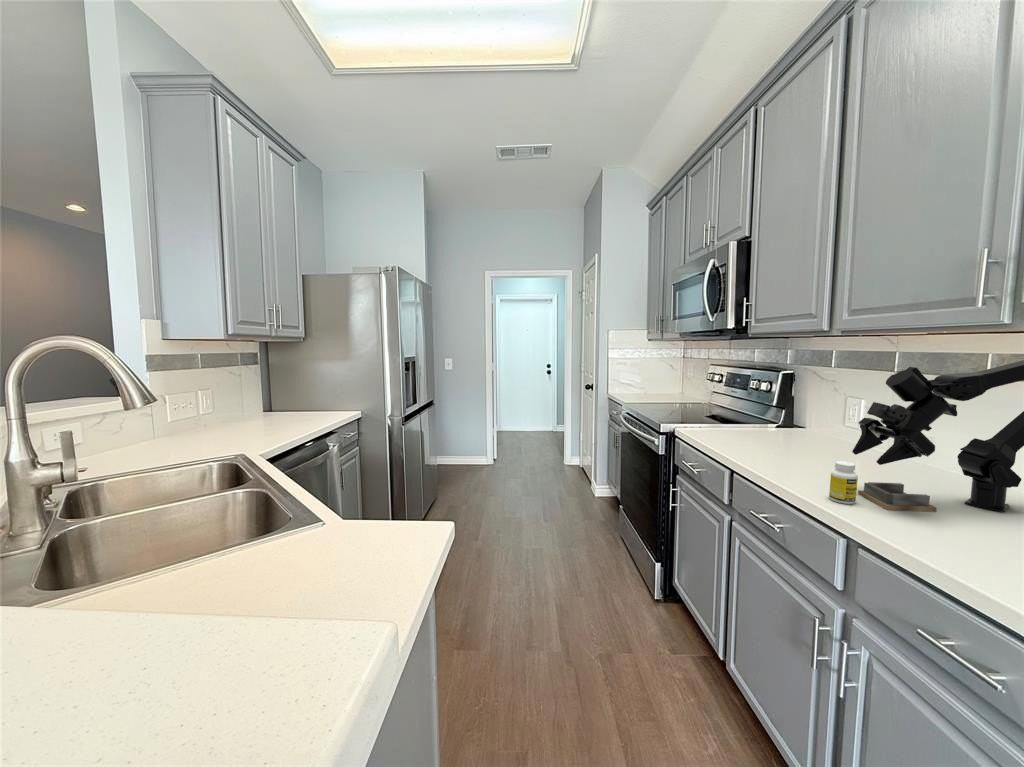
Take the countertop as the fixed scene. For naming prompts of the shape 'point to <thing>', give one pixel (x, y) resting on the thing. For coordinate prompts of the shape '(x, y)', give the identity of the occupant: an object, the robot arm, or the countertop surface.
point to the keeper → (895, 497)
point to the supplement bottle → (843, 483)
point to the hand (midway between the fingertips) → (865, 458)
